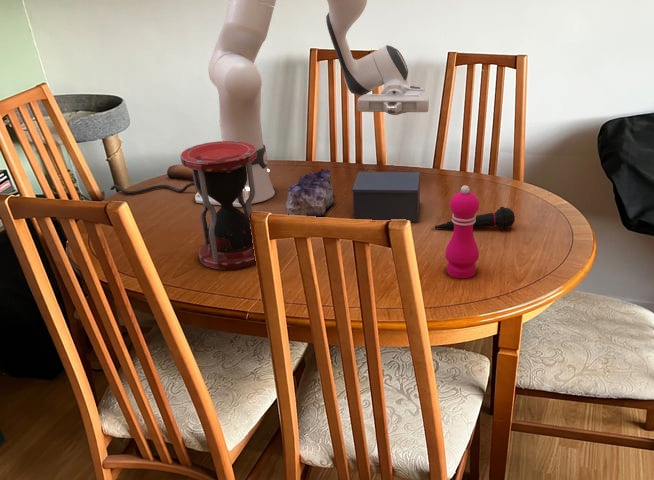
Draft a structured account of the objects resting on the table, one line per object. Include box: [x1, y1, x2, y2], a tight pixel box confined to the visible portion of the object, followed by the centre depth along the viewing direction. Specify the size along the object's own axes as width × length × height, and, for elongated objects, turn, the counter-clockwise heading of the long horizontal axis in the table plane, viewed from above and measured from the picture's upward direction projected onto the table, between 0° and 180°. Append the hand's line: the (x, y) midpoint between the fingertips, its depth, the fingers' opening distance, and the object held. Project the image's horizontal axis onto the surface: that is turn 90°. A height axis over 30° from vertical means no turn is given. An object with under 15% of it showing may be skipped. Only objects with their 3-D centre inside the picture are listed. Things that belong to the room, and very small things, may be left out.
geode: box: [285, 168, 335, 217], centre depth 169 cm, size 20×12×10 cm, turn 169°
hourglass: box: [179, 140, 257, 271], centre depth 140 cm, size 16×16×25 cm
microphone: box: [434, 206, 516, 231], centre depth 155 cm, size 6×6×20 cm
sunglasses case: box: [166, 163, 194, 180], centre depth 192 cm, size 18×7×7 cm, turn 69°
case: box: [352, 176, 421, 223], centre depth 164 cm, size 13×17×8 cm
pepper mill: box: [444, 184, 480, 279], centre depth 131 cm, size 7×7×20 cm
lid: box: [351, 171, 421, 193], centre depth 162 cm, size 13×17×1 cm
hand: (391, 110), depth 169 cm, fingers closed
